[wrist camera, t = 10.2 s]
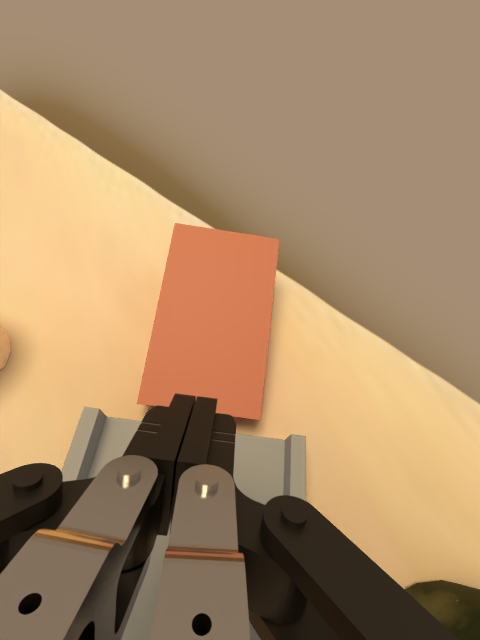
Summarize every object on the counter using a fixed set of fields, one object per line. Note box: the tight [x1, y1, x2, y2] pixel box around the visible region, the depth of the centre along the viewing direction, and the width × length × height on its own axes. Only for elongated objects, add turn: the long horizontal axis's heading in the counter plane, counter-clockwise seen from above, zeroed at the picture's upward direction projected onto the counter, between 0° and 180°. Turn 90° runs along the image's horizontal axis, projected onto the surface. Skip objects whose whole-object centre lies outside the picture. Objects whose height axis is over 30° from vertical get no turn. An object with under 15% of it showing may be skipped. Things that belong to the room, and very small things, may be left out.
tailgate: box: [137, 223, 279, 420], centre depth 27 cm, size 2×9×15 cm
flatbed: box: [62, 407, 306, 640], centre depth 18 cm, size 15×15×9 cm
